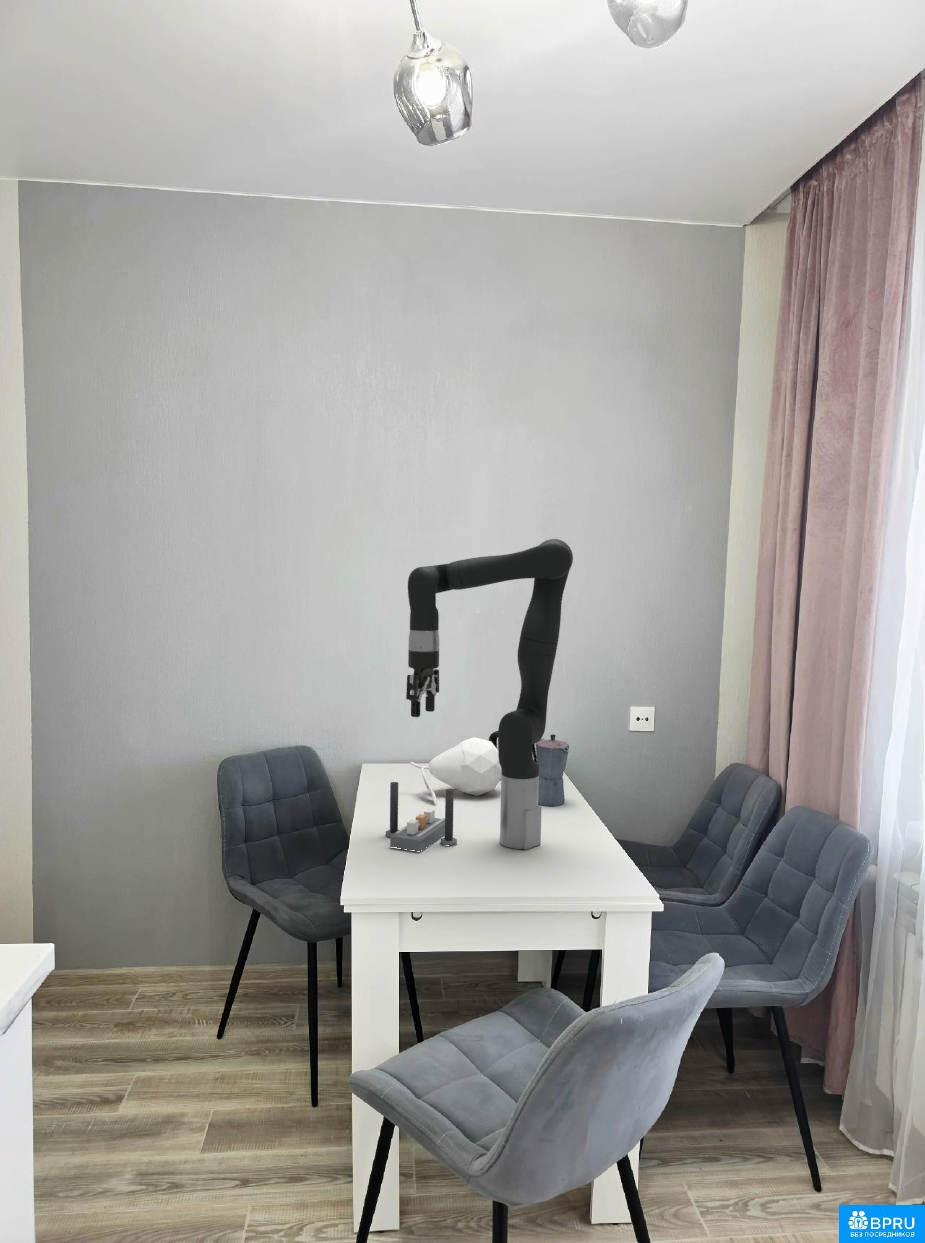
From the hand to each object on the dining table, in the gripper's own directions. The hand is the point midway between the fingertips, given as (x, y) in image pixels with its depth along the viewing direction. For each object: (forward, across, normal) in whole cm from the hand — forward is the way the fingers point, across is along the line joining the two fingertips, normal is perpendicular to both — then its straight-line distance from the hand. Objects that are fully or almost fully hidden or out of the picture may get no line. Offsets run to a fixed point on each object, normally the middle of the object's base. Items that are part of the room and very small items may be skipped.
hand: (422, 714), depth 222 cm
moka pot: (+32, +46, -19) cm, 59 cm away
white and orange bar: (+28, 0, 0) cm, 28 cm away
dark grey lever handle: (+32, 0, +8) cm, 32 cm away
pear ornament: (+32, +42, +7) cm, 53 cm away
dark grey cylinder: (+32, 0, -7) cm, 32 cm away
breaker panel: (+32, 0, 0) cm, 32 cm away
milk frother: (+32, +70, +2) cm, 77 cm away
